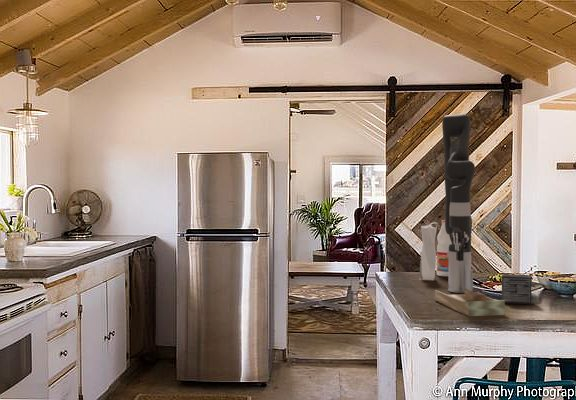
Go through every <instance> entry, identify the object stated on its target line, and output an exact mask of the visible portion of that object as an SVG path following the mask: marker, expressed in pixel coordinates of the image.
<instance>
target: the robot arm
mask: <svg viewBox="0 0 576 400" xmlns="http://www.w3.org/2000/svg"><path fill="white" fill-rule="evenodd" d="M441 124H442V125H441V127H442V141H443V151H444V153H443V155H444V168H443V170H444V188H445V189H444V190H445V191H444V193H445V211H444V213H445V215H444V220H445V230H446V233H447V234H448V235H449V237H450V240H451V243H452V244H450V245H449V272H448V276H447V278H448V280H447V281H448V284H447V285H448V286H447V287H448V288H447V290H448V292H451V293H457V294H458V293H459V294H465V289H467V290H470V291H473V292H474V269H472V230H473V229H472V228H473V219H472V215H471V212H472V211H471V210H472V209H471V186H472V182H473V179H474V176H475V172H476V167H475V163H474V162H473V161H471V160H470V153H469V144H470V138H471V137H470V136H471V119H470V117H469V115H468V114H465V113H464V114H448V115H444V116H443V118H442V122H441ZM452 138H456V139H455V140H454V141H453V142H452Z"/></svg>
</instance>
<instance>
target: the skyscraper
mask: <svg viewBox="0 0 576 400" xmlns="http://www.w3.org/2000/svg"><path fill="white" fill-rule="evenodd" d="M433 224H436V227H433V226H432V225H433ZM438 224H439V223H438V222H431V223H430V224H429V225H421V226H420V228H421V229H420V230H421V241H422V249H421V253H420V261H419V278H418V279H419V281H435V278H436V277H435V275H436V269H437V249H436V246H435V244H436V239H437V229H438Z"/></svg>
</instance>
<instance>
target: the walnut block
mask: <svg viewBox="0 0 576 400" xmlns="http://www.w3.org/2000/svg"><path fill="white" fill-rule="evenodd" d="M464 294H465V302H468V301H485V300H486V297H487V295H486V294H484V293H482V292H480V291H473V292H468V293H464Z"/></svg>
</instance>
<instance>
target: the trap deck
mask: <svg viewBox="0 0 576 400" xmlns="http://www.w3.org/2000/svg"><path fill="white" fill-rule="evenodd" d="M468 292H474V290H473V291H470V290H467V289H465V293H468ZM465 293H459V294H447V293H444V292H442V291H439V290H436V289H435V290H434V301H436V302H437V301H438V303H439V302H440V304H441V303H442V304H441V305H444V306H446V307H448V308H449V309H453V310H454V311H456V312H459V313H461V314H464V315H465V316H468V317H483V316H484V317H485V316H505V314H506V311H505V310H506V309H505V308H506V307H505V305H506V303H505V300H502V299H501V300H498V299H493V298H492V297H489V296H486V300H485V301H468V302H465Z"/></svg>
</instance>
